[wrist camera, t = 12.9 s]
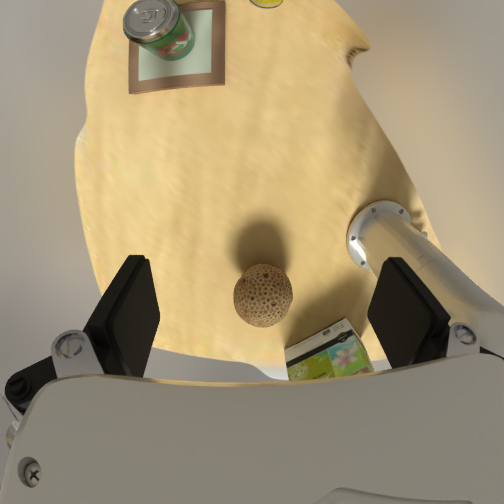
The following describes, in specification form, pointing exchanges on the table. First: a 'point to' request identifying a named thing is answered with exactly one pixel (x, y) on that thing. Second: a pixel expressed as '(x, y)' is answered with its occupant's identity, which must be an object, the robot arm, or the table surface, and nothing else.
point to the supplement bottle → (266, 3)
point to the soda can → (159, 28)
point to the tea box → (328, 355)
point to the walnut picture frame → (192, 65)
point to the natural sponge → (263, 295)
